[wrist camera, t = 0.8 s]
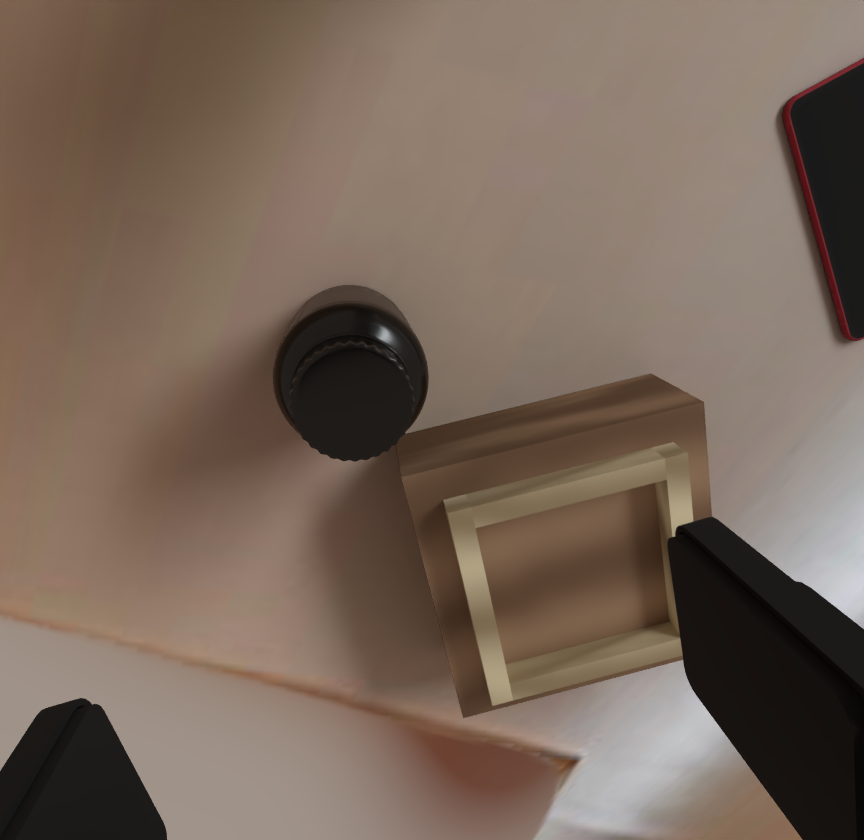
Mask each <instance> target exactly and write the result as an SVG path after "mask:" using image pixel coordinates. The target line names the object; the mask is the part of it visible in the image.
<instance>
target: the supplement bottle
mask: <svg viewBox="0 0 864 840" xmlns="http://www.w3.org/2000/svg"><path fill="white" fill-rule="evenodd" d="M428 381H429V376H428V366H427V361H426V357H425V354H424V351H423V349H422V346H421V344H420V342H419V340H418V338H417V337H416V335H415V333H414V332H413V330H412V328H411V327H410V325H409V323H408V322H407V320H406V318H405V317H404V315H403V314H402V312H401V311H400V310H399V309H398V307H397V306H396V305H395V304H394V303H393V302H392V301H391V300H390V299H388V298H387V297H385V296H384V295H382V294H381V293H379V292H377V291H375V290H372V289H370V288H367V287H362V286H356V285H342V286H336V287H333V288H329V289H327V290H324V291H322V292H320V293H318V294H317V295H315V296H314V297H312V298H311V299H310V300H309V301H307V302H306V303H305V304H304V306H303V307H302V308H301V309H300V311H299V312H298V313H297V315H296V316H295V318H294V320H293V322H292V324H291V325H290V327H289V329H288V331H287V333H286V335H285V336H284V338H283V340H282V342H281V344H280V346H279V349H278V351H277V355H276V358H275V363H274V369H273V385H274V392H275V396H276V400H277V402H278V405H279V407H280V409H281V412H282V413H283V415H284V417H285V418H286V420H287V421H288V422H289V424H290V425H291V426H292V427H293V428H294V429H295V430H296V431H297V432H298V433H299V434H300V435H301V436H302V438H303V439H304V440H305V441H307V442H308V443H309V445H310V446H311V447H312V448H315V449H317V450H318V451H319V452H320V453H321V454H325V455H328V456H329V457H330V458H333V459H336V458H338V459H340V460H342V461H347V460H351V461H358V460H360V459H362V460H368V459H369V458H371V457H373V456H374V457H376V456H379V455H380V454H381V453H382V452H385V451H388V450H389V449H390V448H391V446H392V445H395V444H397V443H398V441H399V438H400V437H402V436H403V435H404V434H405V432H406V431H407V430H408V429H409V428H410V427H411V425H412V424H413V423H414V421H415V420H416V419H417V417H418V415H419V414H420V412H421V410H422V407H423V405H424V402H425V399H426V395H427V391H428Z"/></svg>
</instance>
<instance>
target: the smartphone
mask: <svg viewBox="0 0 864 840" xmlns="http://www.w3.org/2000/svg"><path fill="white" fill-rule="evenodd" d="M783 122H784V125H785V129H786V132H787V136H788V140H789V143H790V147H791V150H792V154H793V158H794V161H795V165H796V168H797V172H798V176H799V179H800V183H801V186H802V190H803V194H804V197H805V201H806V204H807V208H808V212H809V215H810V219H811V222H812V226H813V230H814V233H815V237H816V240H817V244H818V248H819V251H820V255H821V258H822V262H823V266H824V269H825V273H826V276H827V280H828V284H829V287H830V291H831V294H832V298H833V302H834V305H835V309H836V312H837V316H838V320H839V323H840V327H841V331H842V333H843V334H844V336H845V337H846V338H847V339H850V340H854V341H858V340H861V339H864V58H863V59H861V60H859V61H858V62H856V63H854V64H852V65H850V66H848V67H847V68H845V69H843V70H841V71H839V72H837V73H836V74H834V75H832V76H830V77H828V78H826V79H825V80H823V81H821V82H819V83H817V84H815V85H814V86H812V87H810V88H808V89H806V90H804V91H803V92H801V93H799V94H797V95H795V96H794V97H792V98H791V99H790V100H789V101H788V103H787V104H786V106H785V108H784V111H783Z"/></svg>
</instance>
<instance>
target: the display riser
mask: <svg viewBox="0 0 864 840" xmlns="http://www.w3.org/2000/svg"><path fill="white" fill-rule="evenodd" d="M396 450H397V456H398V461H399V467H400V473H401V479H402V482H403V486H404V490H405V494H406V498H407V502H408V506H409V510H410V513H411V517H412V521H413V525H414V529H415V533H416V537H417V541H418V544H419V548H420V552H421V556H422V560H423V564H424V568H425V572H426V575H427V579H428V583H429V587H430V591H431V595H432V599H433V603H434V606H435V610H436V614H437V618H438V622H439V626H440V630H441V634H442V637H443V641H444V645H445V649H446V653H447V657H448V661H449V665H450V669H451V672H452V676H453V680H454V684H455V688H456V692H457V696H458V700H459V703H460V707H461V711H462V715H463V718H465V717H469V716H473V715H476V714H480V713H484V712H488V711H491V710H495V709H499V708H503V707H507V706H510V705H514V704H518V703H522V702H525V701H529V700H533V699H537V698H540V697H544V696H548V695H552V694H555V693H559V692H563V691H567V690H570V689H574V688H578V687H582V686H585V685H589V684H593V683H597V682H601V681H604V680H608V679H612V678H616V677H619V676H623V675H627V674H631V673H634V672H638V671H642V670H646V669H649V668H653V667H657V666H661V665H664V664H668V663H672V662H676V661H680V660H683V654H682V647H681V640H680V633H679V626H678V619H677V612H676V604H675V597H674V590H673V583H672V576H671V569H670V562H669V555H668V548H667V542H668V539H669V538H671V537H675V531H676V528H677V527H678V526H680V525H683V524H687V523H690V522H694V521H697V520H700V519H704V518H707V517H712V511H711V497H710V483H709V468H708V454H707V440H706V426H705V412H704V402H703V401H701V400H699V399H697V398H695V397H694V396H692V395H690V394H688V393H686V392H684V391H682V390H681V389H679V388H677V387H675V386H673V385H671V384H669V383H668V382H666V381H664V380H662V379H660V378H658V377H656V376H655V375H653V374H648V375H644V376H640V377H635V378H631V379H627V380H623V381H619V382H615V383H611V384H607V385H603V386H599V387H595V388H591V389H587V390H583V391H579V392H575V393H570V394H566V395H562V396H558V397H554V398H550V399H546V400H542V401H538V402H534V403H530V404H526V405H522V406H518V407H514V408H510V409H505V410H501V411H497V412H493V413H489V414H485V415H481V416H477V417H473V418H469V419H465V420H461V421H457V422H453V423H449V424H445V425H441V426H436V427H432V428H428V429H424V430H420V431H416V432H412V433H408V434H404V435H403V436H402V437H400V438H399V441H398V443H397V444H396Z"/></svg>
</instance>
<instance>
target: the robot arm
mask: <svg viewBox="0 0 864 840" xmlns="http://www.w3.org/2000/svg"><path fill="white" fill-rule="evenodd" d="M667 548H668V555H669V562H670V569H671V576H672V583H673V590H674V597H675V604H676V612H677V619H678V626H679V633H680V640H681V647H682V654H683V661H684V668H685V673H686V676H687V679H688V681H689V683H690V685H691V687H692V689H693V691H694V692H695V694H696V695H697V697H698V698H699V699H700V701H701V702H702V703H703V705H704V706H705V707H706V709H707V710H708V712H709V713H710V714H711V716H712V717H713V718H714V720H715V721H716V722H717V724H718V725H719V726H720V728H721V729H722V731H723V732H724V733H725V735H726V736H727V737H728V739H729V740H730V741H731V743H732V744H733V745H734V747H735V748H736V750H737V751H738V752H739V754H740V755H741V756H742V758H743V759H744V760H745V762H746V763H747V765H748V766H749V767H750V769H751V770H752V771H753V773H754V774H755V775H756V777H757V778H758V779H759V781H760V782H761V784H762V785H763V786H764V788H765V789H766V790H767V792H768V793H769V794H770V796H771V797H772V798H773V800H774V801H775V803H776V804H777V805H778V807H779V808H780V809H781V811H782V812H783V813H784V815H785V816H786V818H787V819H788V820H789V822H790V823H791V824H792V826H793V827H794V828H795V830H796V831H797V832H798V834H799V835H800V837H801V838H802V839H803V840H864V629H863V628H861V627H860V626H859V625H858V624H856V623H855V622H854V621H852V620H851V619H850V618H849V617H847V616H846V615H845V614H843V613H842V612H841V611H840V610H838V609H837V608H836V607H835V606H833V605H832V604H831V603H829V602H828V601H827V600H826V599H824V598H823V597H822V596H821V595H819V594H818V593H817V592H815V591H814V590H813V589H812V588H810V587H808V586H807V585H805V584H803V583H802V582H796V581H794V580H793V579H791V578H790V577H789V576H788V575H786V574H785V573H784V572H783V571H781V570H780V569H779V568H778V567H776V566H775V565H774V564H773V563H771V562H770V561H769V560H768V559H766V558H765V557H764V556H763V555H761V554H760V553H759V552H758V551H756V550H755V549H754V548H752V547H751V546H750V545H749V544H747V543H746V542H745V541H744V540H742V539H741V538H740V537H739V536H737V535H736V534H735V533H734V532H732V531H731V530H730V529H729V528H727V527H726V526H725V525H724V524H722V523H721V522H720V521H719V520H717V519H716V518H714V517H707V518H704V519H700V520H697V521H694V522H690V523H687V524H683V525H680V526H678V527H677V528H676V531H675V537H671V538H669V539H668V542H667ZM0 840H167V833H166V828H165V825H164V823H163V821H162V819H161V817H160V815H159V813H158V811H157V810H156V807H155V806H154V804H153V802H152V800H151V798H150V796H149V794H148V792H147V791H146V789H145V787H144V785H143V783H142V781H141V779H140V777H139V776H138V774H137V772H136V770H135V768H134V766H133V764H132V762H131V760H130V759H129V757H128V755H127V753H126V751H125V749H124V747H123V745H122V744H121V742H120V740H119V738H118V736H117V734H116V732H115V731H114V729H113V726H112V725H111V723H110V721H109V719H108V717H107V715H106V713H105V711H104V710H103V709H102V707H101V706H100V705H97V704H93V705H92V704H91V703H90V702H89V701H88V700H86V699H83V698H80V699H76V700H72V701H69V702H65V703H62V704H58V705H55V706H52V707H48V708H45V709H43V710H41V711H40V712H39V713H38V715H37V716H36V717H35V719H34V720H33V722H32V723H31V725H30V726H29V728H28V729H27V731H26V732H25V734H24V736H23V737H22V739H21V740H20V742H19V743H18V745H17V746H16V748H15V749H14V751H13V752H12V754H11V755H10V757H9V758H8V760H7V762H6V763H5V765H4V766H3V768H2V769H1V771H0Z"/></svg>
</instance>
